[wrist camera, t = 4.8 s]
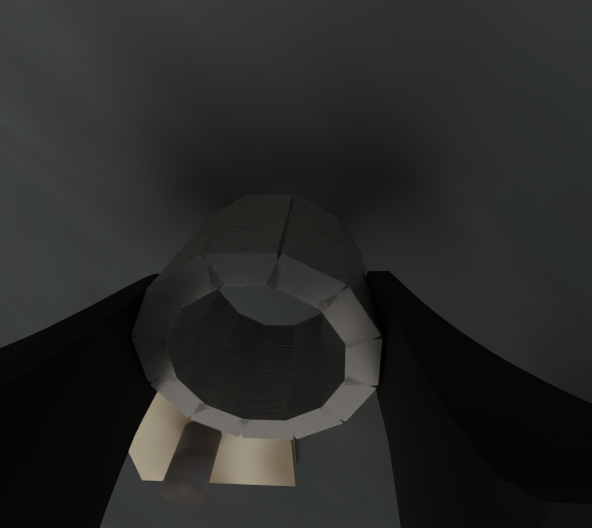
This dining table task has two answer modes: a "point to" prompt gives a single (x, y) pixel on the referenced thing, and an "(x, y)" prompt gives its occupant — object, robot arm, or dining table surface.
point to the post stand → (204, 456)
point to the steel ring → (256, 336)
